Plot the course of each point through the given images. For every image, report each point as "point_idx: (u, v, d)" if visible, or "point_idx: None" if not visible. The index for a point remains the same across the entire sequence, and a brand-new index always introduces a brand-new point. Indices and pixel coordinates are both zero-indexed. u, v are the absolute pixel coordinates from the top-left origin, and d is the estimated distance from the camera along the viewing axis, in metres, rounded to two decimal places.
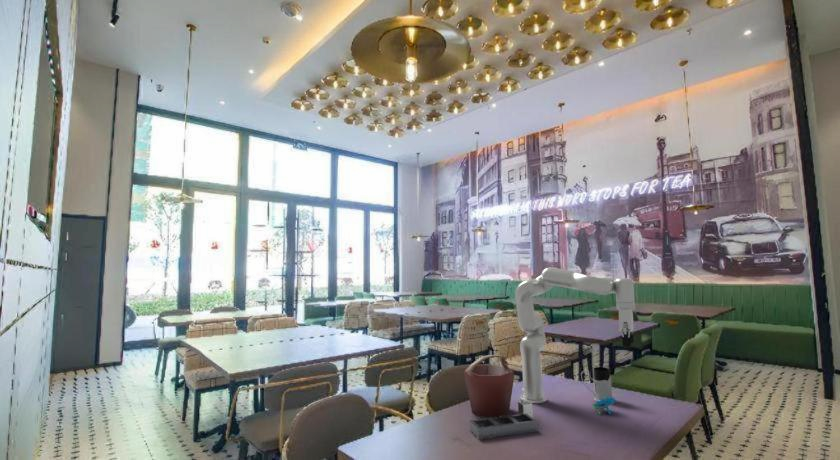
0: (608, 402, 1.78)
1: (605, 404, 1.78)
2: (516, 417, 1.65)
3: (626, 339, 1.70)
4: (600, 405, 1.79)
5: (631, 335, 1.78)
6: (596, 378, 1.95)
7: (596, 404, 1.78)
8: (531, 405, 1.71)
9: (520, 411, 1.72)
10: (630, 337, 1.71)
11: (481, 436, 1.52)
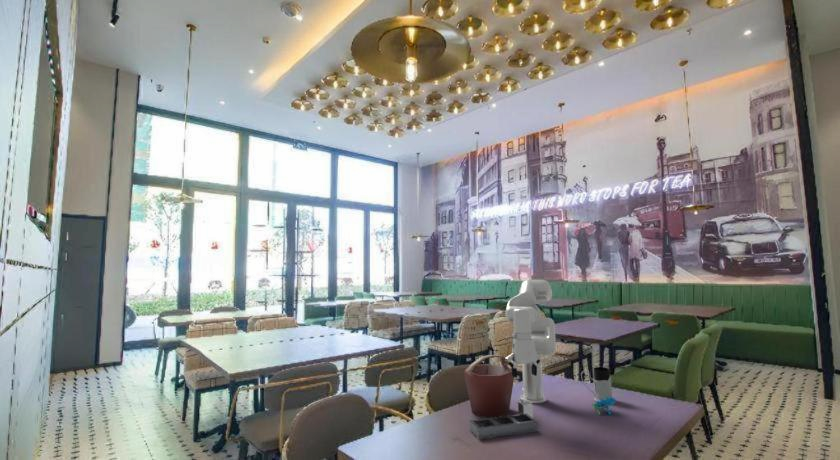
0: (608, 402, 1.78)
1: (605, 404, 1.78)
2: (516, 417, 1.65)
3: None
4: (600, 405, 1.79)
5: None
6: (596, 378, 1.95)
7: (596, 404, 1.78)
8: (531, 405, 1.71)
9: (520, 411, 1.72)
10: (531, 364, 1.77)
11: (481, 436, 1.52)
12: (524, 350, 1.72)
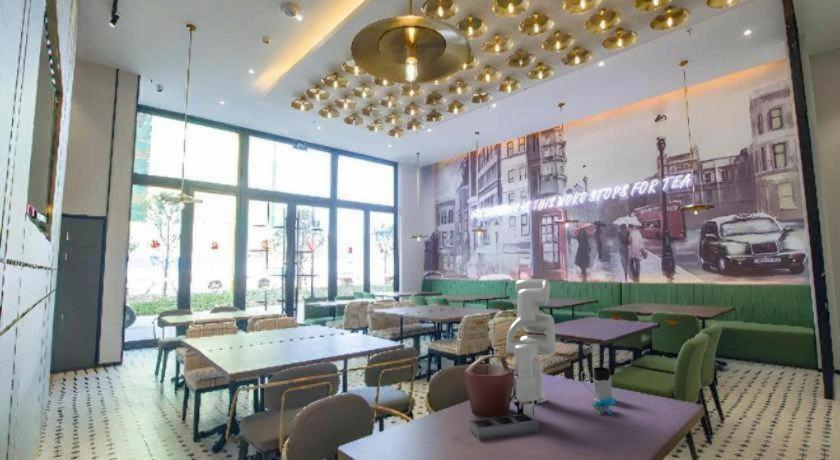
0: (608, 402, 1.78)
1: (605, 404, 1.77)
2: (516, 417, 1.65)
3: None
4: (600, 405, 1.78)
5: None
6: (596, 378, 1.95)
7: (596, 404, 1.78)
8: (531, 405, 1.71)
9: None
10: None
11: (481, 436, 1.52)
12: (525, 388, 1.70)
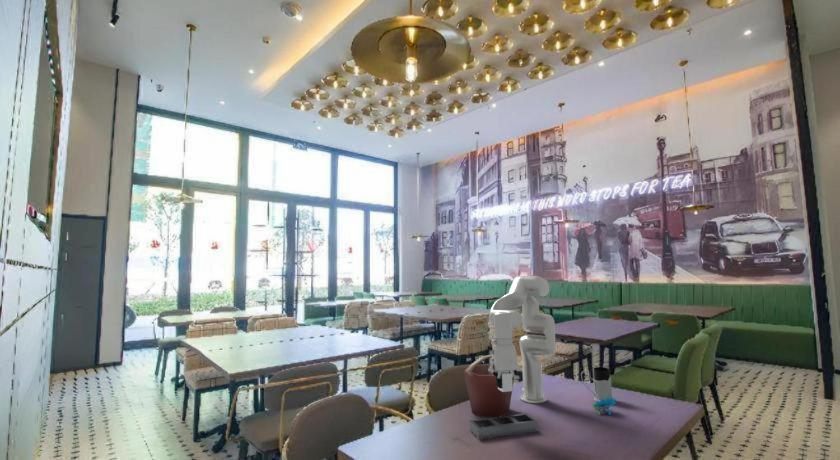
0: (609, 403, 1.77)
1: (605, 405, 1.77)
2: (516, 417, 1.65)
3: None
4: (600, 405, 1.78)
5: None
6: (596, 378, 1.95)
7: (596, 404, 1.78)
8: (511, 375, 1.61)
9: None
10: None
11: (481, 436, 1.52)
12: (504, 357, 1.61)
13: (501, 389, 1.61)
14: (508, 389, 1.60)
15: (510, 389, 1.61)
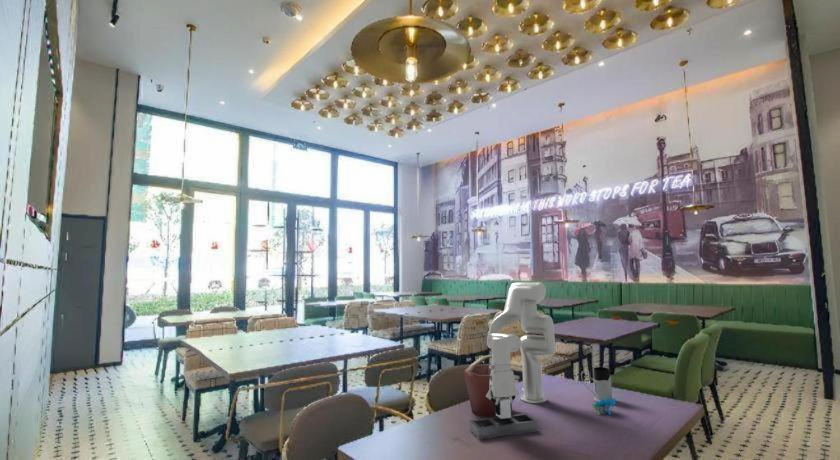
0: (609, 403, 1.77)
1: (605, 405, 1.77)
2: (516, 417, 1.65)
3: None
4: (601, 405, 1.78)
5: None
6: (596, 378, 1.95)
7: (596, 404, 1.78)
8: (509, 401, 1.59)
9: None
10: None
11: (481, 436, 1.52)
12: (502, 383, 1.59)
13: (499, 416, 1.58)
14: (506, 416, 1.58)
15: (508, 416, 1.58)
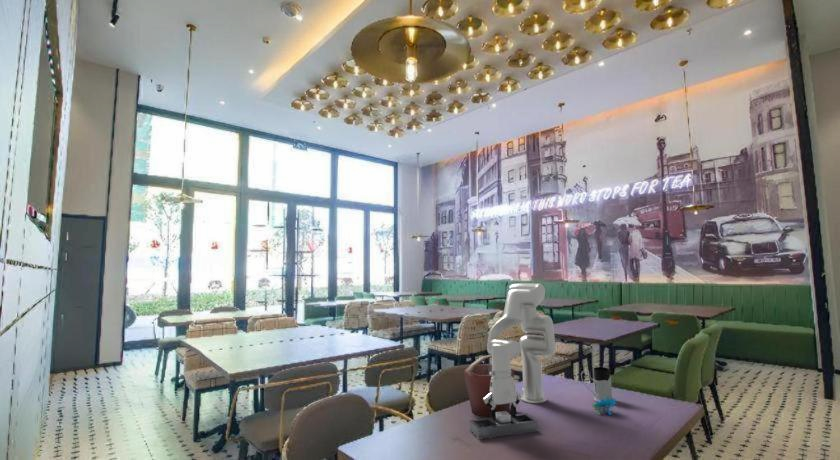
0: (609, 403, 1.77)
1: (606, 405, 1.77)
2: (516, 417, 1.65)
3: None
4: (601, 406, 1.78)
5: None
6: (596, 378, 1.95)
7: (596, 404, 1.78)
8: (509, 416, 1.59)
9: (497, 422, 1.60)
10: None
11: (481, 436, 1.52)
12: (502, 389, 1.58)
13: None
14: None
15: None
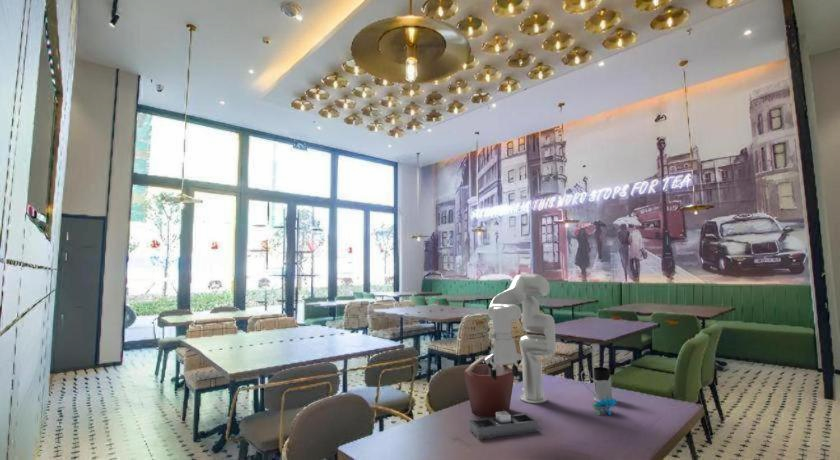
0: (609, 403, 1.77)
1: (606, 405, 1.77)
2: (516, 417, 1.65)
3: None
4: (601, 406, 1.78)
5: None
6: (596, 378, 1.95)
7: (596, 404, 1.78)
8: (509, 416, 1.58)
9: (497, 422, 1.60)
10: None
11: (481, 436, 1.52)
12: (504, 351, 1.62)
13: None
14: None
15: None
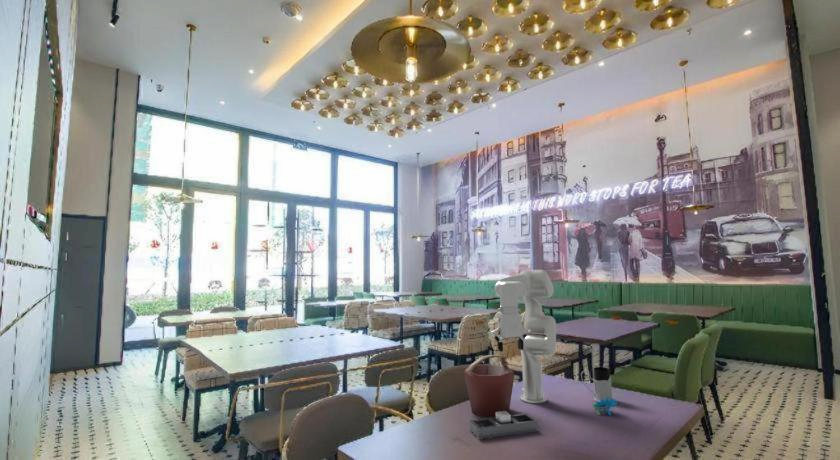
0: (609, 403, 1.77)
1: (606, 405, 1.77)
2: (516, 417, 1.65)
3: None
4: (601, 406, 1.78)
5: None
6: (596, 378, 1.95)
7: (596, 405, 1.78)
8: (509, 416, 1.58)
9: (497, 422, 1.60)
10: None
11: (481, 436, 1.52)
12: (510, 324, 1.69)
13: None
14: None
15: None
